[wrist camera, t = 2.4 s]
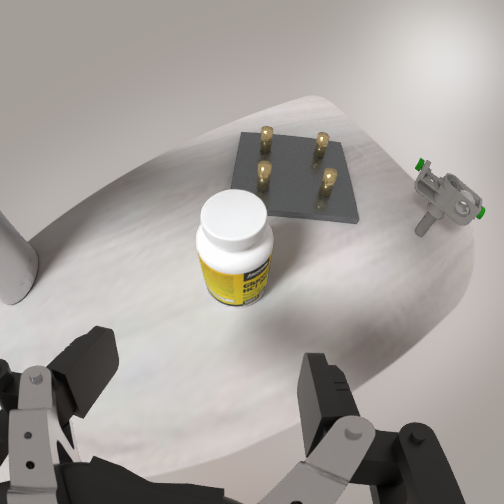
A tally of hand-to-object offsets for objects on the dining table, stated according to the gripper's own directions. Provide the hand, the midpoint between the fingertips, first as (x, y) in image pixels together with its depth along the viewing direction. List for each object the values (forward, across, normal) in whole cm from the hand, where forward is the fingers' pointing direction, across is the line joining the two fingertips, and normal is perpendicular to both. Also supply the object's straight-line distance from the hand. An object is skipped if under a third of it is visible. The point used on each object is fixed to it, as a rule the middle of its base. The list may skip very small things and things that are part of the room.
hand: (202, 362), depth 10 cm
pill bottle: (+18, 0, +3) cm, 18 cm away
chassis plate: (+30, -6, -9) cm, 32 cm away
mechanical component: (+24, -24, -3) cm, 34 cm away
